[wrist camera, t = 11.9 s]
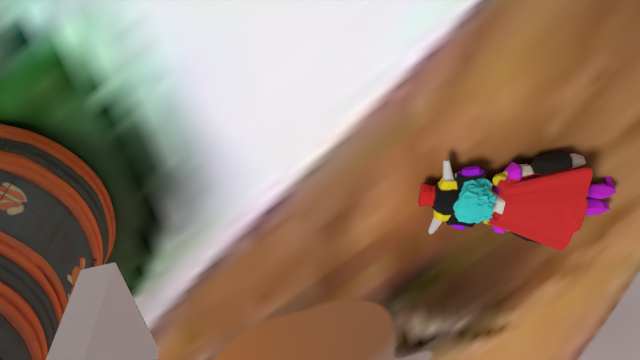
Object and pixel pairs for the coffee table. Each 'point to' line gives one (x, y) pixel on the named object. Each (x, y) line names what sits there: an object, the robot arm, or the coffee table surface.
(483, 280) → the coffee table surface
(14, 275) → the beer stein
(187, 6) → the coffee table surface
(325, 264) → the coffee table surface
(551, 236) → the toy
